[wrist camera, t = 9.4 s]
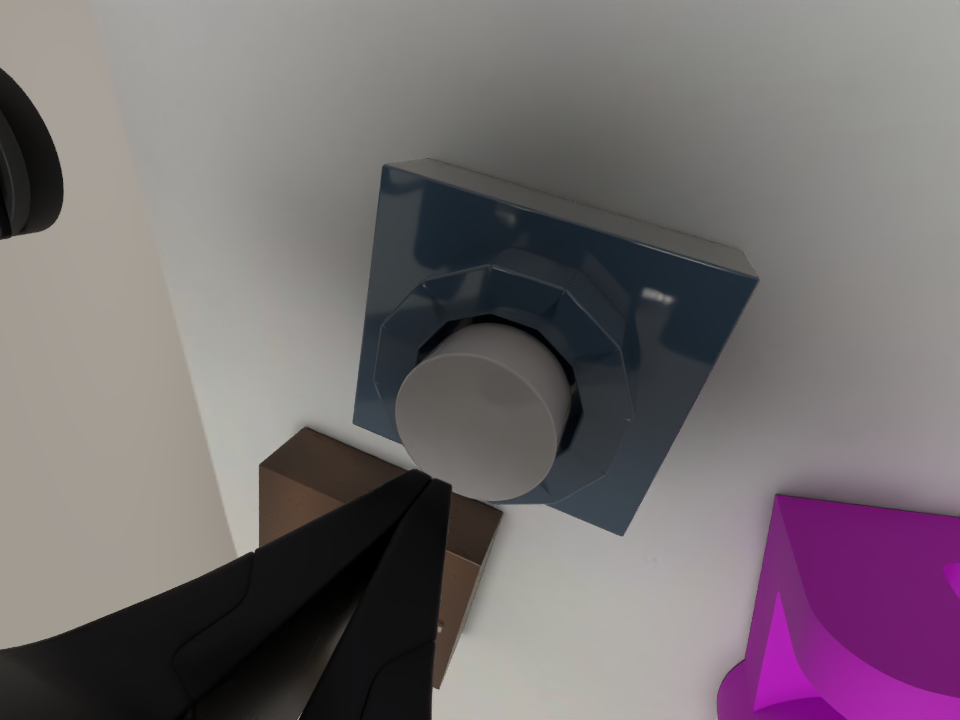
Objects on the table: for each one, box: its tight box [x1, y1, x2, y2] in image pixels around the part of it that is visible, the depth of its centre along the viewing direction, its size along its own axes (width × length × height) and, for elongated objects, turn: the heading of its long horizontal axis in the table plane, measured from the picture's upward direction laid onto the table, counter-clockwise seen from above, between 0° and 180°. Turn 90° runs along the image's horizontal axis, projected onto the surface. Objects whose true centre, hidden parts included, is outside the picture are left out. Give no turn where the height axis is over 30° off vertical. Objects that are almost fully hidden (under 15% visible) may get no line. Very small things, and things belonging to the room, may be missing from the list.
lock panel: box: [259, 427, 503, 689], centre depth 23 cm, size 10×9×3 cm
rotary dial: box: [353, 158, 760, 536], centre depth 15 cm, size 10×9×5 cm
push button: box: [395, 323, 571, 501], centre depth 12 cm, size 4×4×2 cm
